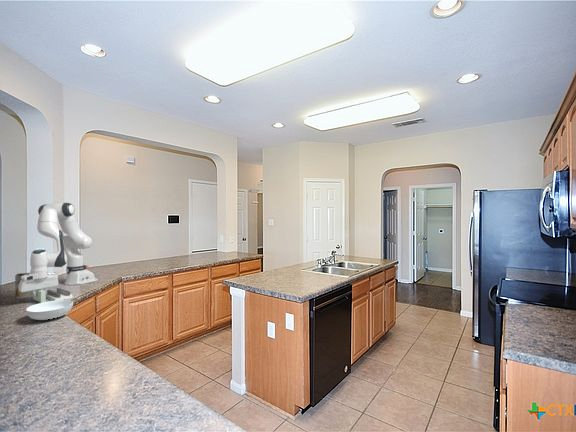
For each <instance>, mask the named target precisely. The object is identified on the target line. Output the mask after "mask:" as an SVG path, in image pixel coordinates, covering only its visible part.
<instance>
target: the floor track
mask: <svg viewBox="0 0 576 432" xmlns="http://www.w3.org/2000/svg"><path fill="white" fill-rule="evenodd" d="M69 298H70V299H73V294H71V291H69V290H67V289H63V288H60V287H57V288H56V291H55V290H52V289H47V290H46V299H48V300H49V301H55V300H64V299H65V300H70V299H69Z"/></svg>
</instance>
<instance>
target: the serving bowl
mask: <svg viewBox="0 0 576 432" xmlns="http://www.w3.org/2000/svg"><path fill="white" fill-rule="evenodd" d="M73 306H74V301H73V300H70V299H65V300H55V301H53V300H49V301H46V302H42V303H41V302H38V303H36V304H32V305H30V306H28V307H26V309H25V311H26V315H27V316H28V318H30V319H32V320H36V321H49V320H48V319H50V320H54V319H53V318H55V319H57V317H58V318H60V317H62V316H65V315H66V314H68V313H69V312H70V311H71V310H72V309H73Z"/></svg>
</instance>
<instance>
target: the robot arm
mask: <svg viewBox="0 0 576 432" xmlns="http://www.w3.org/2000/svg"><path fill="white" fill-rule="evenodd" d="M37 212H38V221H37V225H36V229H37V232H38V233H39V234H40V235H42V236H44V237H47V238H51V239H54V240H55V241H56V248H57V252H48V251H47V250H46V249H36V250H35V249H34V250H33V251H31V254H30V259H29V261H30V262H29V265H30V272H27V273H28V274H26V275H23V276H21V279H22V280H21V281H20V283H19V291H20V292H27V291H32V293H33V294H34V296H33V298H34V297H37V296H38V294H37V293H35V292H36V290H38V289H42V290H44V291H46V292H47V290H48V289H49V288H53V287H57V286H58V285H59V274H58V273H57V272H50V273H49V268H63V267H64V266H66V269H65V272H66V276H65V281H64V285H66V286H67V285H68V286H74V285H75V286H77V285H78V286H79V285H80V286H81V285H85V284H89V283H93V282H96V281H97V282H98V278H97V277H95V274H94V272H92V271H90V270H88V269H89V267H90V266H89V265H87V264H84V263H85V262H84V261H85V257H84V255H83V253H81V252H80V251H79V250H84V249H89V248H91V246H92V245H93V239H92V238H91V236H88V235H87V234H86V233H85V232H84V231H83V230H82V229H81V228H80V226H79V224H78V221H77V218H76V216H75V207H74V205H73V204H72V203H70V202H55V203H47V204H46V203H45V204H42V205H40V206H39V208H38V210H37ZM58 225H59V226H60V228H61V230H60V229H59V226H58ZM64 234H65V235H64Z"/></svg>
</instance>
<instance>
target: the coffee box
mask: <svg viewBox="0 0 576 432" xmlns="http://www.w3.org/2000/svg"><path fill="white" fill-rule="evenodd" d="M28 273H29V272H23V273H21V272H19V273H17V274H15V275H14V278H15V279H14V282H15V284H14V285H15V287H14V288H15V300H18V299H28V298H34V294H33V293H32V291H27V292H20V291H19V283H20V281H21V280H22V279H21V276H23V275H26V274H28Z"/></svg>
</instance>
